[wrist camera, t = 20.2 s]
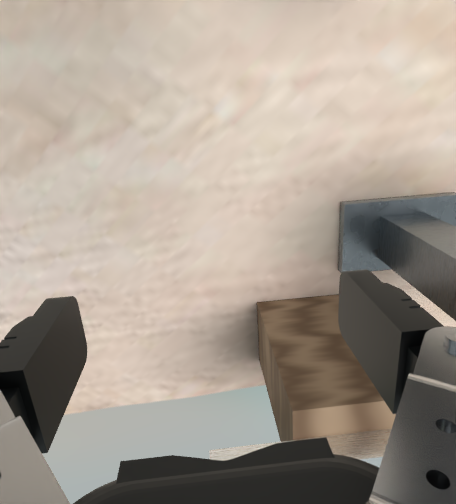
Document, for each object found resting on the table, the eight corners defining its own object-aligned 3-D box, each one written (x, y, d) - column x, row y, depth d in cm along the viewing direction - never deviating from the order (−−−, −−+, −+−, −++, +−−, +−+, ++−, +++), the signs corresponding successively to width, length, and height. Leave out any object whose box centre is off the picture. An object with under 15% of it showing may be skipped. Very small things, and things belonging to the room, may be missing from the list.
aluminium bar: (212, 473, 38) (213, 502, 36) (209, 450, 37) (210, 478, 35) (466, 442, 40) (486, 467, 37) (470, 419, 39) (492, 443, 36)
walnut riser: (259, 359, 61) (293, 488, 40) (256, 302, 57) (292, 411, 37) (347, 350, 62) (425, 472, 41) (350, 293, 58) (436, 394, 37)
